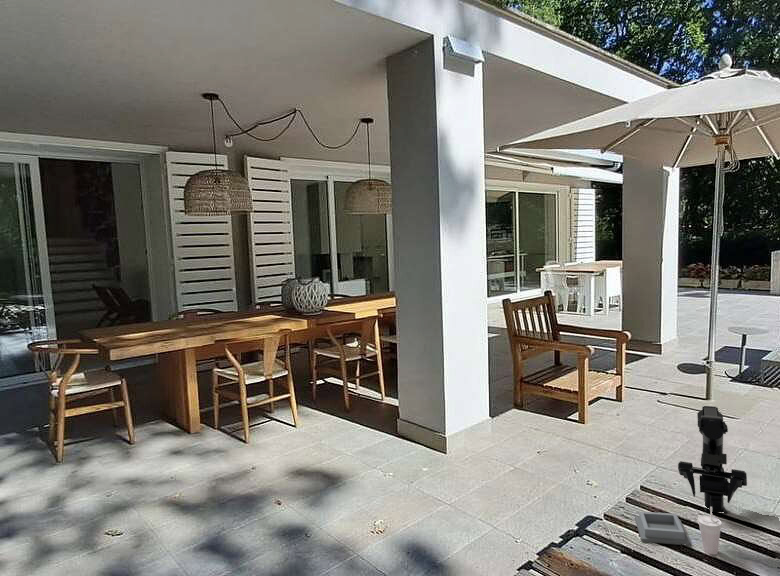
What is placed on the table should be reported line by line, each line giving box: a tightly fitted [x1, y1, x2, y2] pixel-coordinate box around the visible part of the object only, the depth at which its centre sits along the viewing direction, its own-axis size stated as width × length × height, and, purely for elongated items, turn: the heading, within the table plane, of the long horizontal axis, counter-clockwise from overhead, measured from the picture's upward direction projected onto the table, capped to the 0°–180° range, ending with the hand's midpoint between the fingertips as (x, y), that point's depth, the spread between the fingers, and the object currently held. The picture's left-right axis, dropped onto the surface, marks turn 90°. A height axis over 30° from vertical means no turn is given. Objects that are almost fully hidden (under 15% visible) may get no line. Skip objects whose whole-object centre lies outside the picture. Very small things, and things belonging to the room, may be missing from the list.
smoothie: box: [697, 507, 723, 555], centre depth 160 cm, size 6×6×14 cm
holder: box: [634, 510, 691, 546], centre depth 172 cm, size 14×14×4 cm
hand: (710, 499), depth 165 cm, fingers open, 9 cm apart
